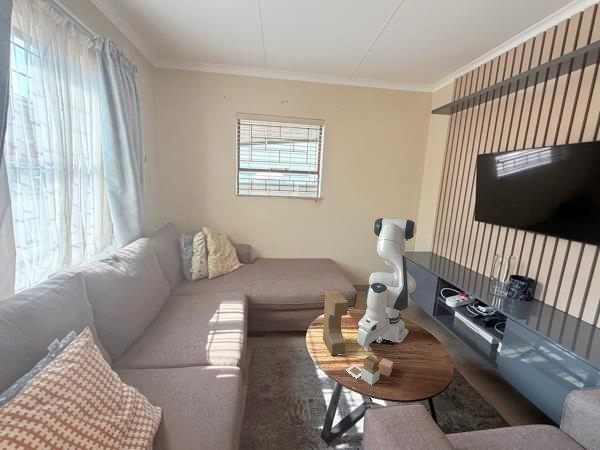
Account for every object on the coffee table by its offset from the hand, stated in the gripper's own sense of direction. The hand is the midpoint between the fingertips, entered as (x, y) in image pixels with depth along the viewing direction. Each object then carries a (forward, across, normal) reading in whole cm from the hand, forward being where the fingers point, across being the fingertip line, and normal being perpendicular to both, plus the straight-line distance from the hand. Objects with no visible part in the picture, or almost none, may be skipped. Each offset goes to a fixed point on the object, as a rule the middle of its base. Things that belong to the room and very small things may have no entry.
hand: (373, 346), depth 126 cm
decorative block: (+17, -3, -26) cm, 32 cm away
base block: (+17, +1, 0) cm, 17 cm away
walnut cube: (+12, 0, 0) cm, 12 cm away
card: (+17, +3, -7) cm, 18 cm away
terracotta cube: (+17, -9, +2) cm, 19 cm away
